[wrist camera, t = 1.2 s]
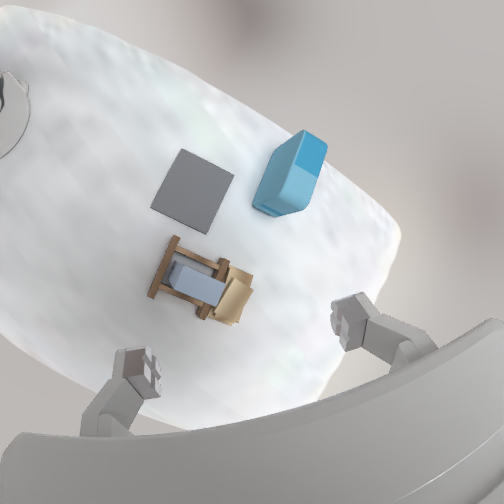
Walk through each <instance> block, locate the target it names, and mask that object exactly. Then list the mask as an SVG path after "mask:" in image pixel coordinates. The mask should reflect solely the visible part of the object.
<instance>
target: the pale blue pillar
mask: <svg viewBox="0 0 504 504" xmlns="http://www.w3.org/2000/svg"><path fill="white" fill-rule="evenodd" d="M168 280H169V282H170V283H171V285H172V287H173V289H175V290H177V291H179V292H182V293H184V294H186V295H189V296H191V297H193V298H196V299H198V300H201V301H203V302H205V303H208V304H210V305H213V306H215V307H216V306H217V304H218V302H219V299H220V297H221V295H222V292H223V290H224V288H225V285H226V284H225V283H223V282H220V281H218V280H216V279H213V278H211V277H209V276H207V275H204V274H202V273H200V272H198V271H196V270H193V269H191V268H189V267H187V266H184V265H182V264H180V263H178V262H176V261H175V263H174V265H173V267H172V270H171V272H170V274H169V277H168Z"/></svg>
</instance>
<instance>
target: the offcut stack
mask: <svg viewBox="0 0 504 504" xmlns="http://www.w3.org/2000/svg"><path fill="white" fill-rule="evenodd" d="M252 278H253V275H251V274H248V273H246V272H244V271H241V270H239V269H237V268H235V267H233V266H230V265H228V267H227V270H226V272H225V274H224V277H223V279H222V281H221V282H223V283H225V284H226V285H225V288H224V290H223V292H222V295H221V297H220V299H219V302H218V304H217V306H216V307H215V306H213V305H211V307H210V309H209V312H208V314H207V317H210V318H212V319H215V320H217V321H220V322H223V323H225V324H228V325H231V326H232V324H233V323H234V322H237V323H239V319H240V316H241V313H242V310H243V307H244V306H245V304H246V302H247V300H248V299H249V297H250V295H251V294H252V292H253V289H251V288H250V285H251V282H252Z"/></svg>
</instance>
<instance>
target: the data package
mask: <svg viewBox="0 0 504 504" xmlns="http://www.w3.org/2000/svg"><path fill="white" fill-rule="evenodd" d="M327 148H328V146H327V144H326V143H324V142H323V141H321V140H320V139H318V138H317V137H315V136H314V135H312V134H310V133H309V132H307V131H305V130H302V131H300V132H299V133H297V134H296V135H295V136H293V137H292V138H290V139H289V140H288V141H286V142H285V143H284V144H282V145H281V146H279V147H278V148H277V149H276V150H275V151H274V153H273V155H272V157H271V159H270V162H269V164H268V166H267V169H266V171H265V174H264V176H263V178H262V181H261V183H260V186H259V188H258V191H257V193H256V195H255V198H254V201H253V206H254V207H255V208H257V209H259V210H261V211H263V212H265V213H267V214H269V215H271V216H273V217H279V216H282V215H286V214H290V213H294V212H299V211H302V210H304V209H305V208H306V207H307V205H308V204H309V202H310V199H311V196H312V194H313V191H314V188H315V185H316V182H317V179H318V176H319V173H320V170H321V167H322V164H323V161H324V158H325V155H326V152H327Z"/></svg>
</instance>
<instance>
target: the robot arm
mask: <svg viewBox="0 0 504 504" xmlns="http://www.w3.org/2000/svg"><path fill="white" fill-rule="evenodd" d="M28 88H29V85H28V83H27V82H26V81H17V80H16V79H15V78H14V77H13V76H12V74H11V73H10V72H1V71H0V158H1V157H2V156H4V155H5V154H6V153H8V152H9V151H10V150H11V149H12V148H13V147H14V146H15V144H16V143H17V142H18V141H19V139H20V138H21V136H22V134H23V132H24V130H25V128H26V126H27V123H28V119H29V114H30V106H29V101H28V98H27V94H28ZM331 309H332V311H333V312H332V314H331V315H330V321H331V326H332V329H333V331H334V333H335V335H337V336H340V340H339V342H340V344H341V345H342V347H343V349H344V351H345V352H347V351H350V350H353V349H356V348H359V347H362V348H364V349H366V350H367V351H369V352H370V353H372V354H374V355H375V356H377V357H378V358H380V359H382V360H383V361H385V362H387V363H389V364H390V365H392V366H391V368H390V371H389V373H388V374H386V375H384V376H382V377H380V378H377V379H375V380H373V381H370V382H368V383H365V384H363V385H360V386H358V387H355V388H353V389H350V390H347V391H345V392H342V393H339V394H336V395H334V396H331V397H328V398H325V399H322V400H319V401H316V402H313V403H310V404H306V405H303V406H300V407H296V408H293V409H290V410H286V411H282V412H279V413H275V414H271V415H267V416H263V417H259V418H255V419H251V420H246V421H241V422H237V423H232V424H227V425H221V426H216V427H210V428H204V429H197V430H191V431H183V432H175V433H166V434H155V435H143V436H135V435H133V434H132V433H131V432H130V431H128V430H129V428H130V426H131V424H132V422H133V420H134V418H135V416H136V415H137V413H138V411H139V409H140V407H141V405H142V404H143V402H144V399H151V398H158V397H161V384H160V383H159V381H158V380H159V378H160V377H161V370H160V365H159V363H158V360H157V359H156V357H154V356H152V350H151V349H150V347H149V346H143V347H136V348H129V349H123V350H117V352H116V354H115V360H114V367H113V374H112V379H110V380H108V382H107V383H106V384H105V385H104V387H103V388H102V389H101V391H100V392H99V393H98V394H97V396H96V397H95V398H94V400H93V401H92V402H91V403H90V405H89V406H88V407H87V409H86V410H85V411H84V413H83V414H82V421H81V429H80V437H78V436H77V437H76V436H58V435H46V434H37V433H29V432H22V433H20V434H19V435H18V436H17V437H16V438H15V439H14V440H13V441H12V442H11V443H10V444H9V446H8V447H7V448H6V449H5V451H4V453H3V455H2V458H1V461H0V504H504V322H503V321H500V320H497V319H493V318H490V319H487V320H485V321H484V322H482V323H481V324H479V325H478V326H476V327H475V328H473V329H471V330H470V331H468V332H466V333H465V334H463V335H462V336H460V337H458V338H457V339H455V340H453V341H451V342H450V343H448V344H446V345H444V346H443V347H441V348H438V347H437V346H436V344H435V343H434V342H433V340H431V338H430V337H429V335H428V334H427V333H426V331H424V330H422V329H419V328H417V327H414V326H412V325H410V324H407V323H405V322H402V321H400V320H398V319H395V318H393V317H391V316H388V315H386V314H380V313H379V311H378V310H377V309H376V308H375V306H374V305H373V304H372V302H371V301H370V300H369V298H368V297H367V296H366V295H365V293H363V292H360V293H357V294H354V295H351V296H348V297H344V298H341V299H338V300H335V301H332V303H331Z"/></svg>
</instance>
